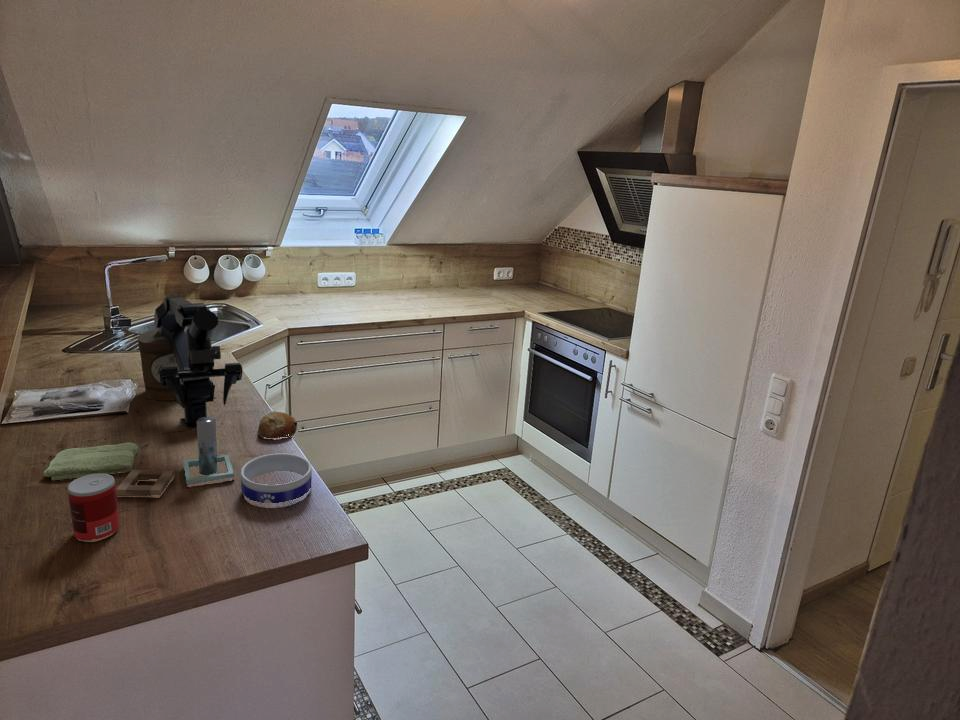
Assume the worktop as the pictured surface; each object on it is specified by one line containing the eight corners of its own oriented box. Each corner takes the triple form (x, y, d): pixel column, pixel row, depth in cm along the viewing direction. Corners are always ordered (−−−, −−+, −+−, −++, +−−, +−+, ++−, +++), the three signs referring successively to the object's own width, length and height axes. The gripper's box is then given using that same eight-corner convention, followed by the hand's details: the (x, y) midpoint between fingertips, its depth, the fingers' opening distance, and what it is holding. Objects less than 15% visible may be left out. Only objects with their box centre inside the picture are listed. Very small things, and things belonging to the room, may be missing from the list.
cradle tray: (183, 468, 153) (183, 460, 152) (228, 461, 157) (228, 454, 157) (186, 488, 144) (186, 480, 144) (234, 481, 149) (233, 473, 148)
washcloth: (56, 457, 154) (55, 445, 153) (139, 451, 160) (138, 439, 159) (42, 484, 142) (40, 471, 141) (132, 476, 148) (131, 464, 147)
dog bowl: (239, 512, 137) (238, 487, 135) (243, 477, 151) (242, 454, 149) (313, 506, 142) (313, 482, 140) (310, 473, 155) (310, 451, 154)
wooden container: (162, 405, 186) (151, 333, 178) (136, 392, 194) (125, 322, 186) (209, 390, 197) (201, 321, 189) (183, 378, 205) (173, 312, 197)
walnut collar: (133, 477, 147) (132, 469, 146) (174, 478, 148) (174, 470, 147) (116, 497, 138) (115, 489, 138) (160, 498, 140) (159, 490, 139)
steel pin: (195, 472, 150) (192, 421, 146) (208, 465, 153) (206, 415, 149) (208, 477, 148) (205, 425, 144) (221, 470, 152) (219, 419, 148)
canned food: (127, 522, 130) (122, 473, 127) (106, 545, 123) (100, 494, 119) (88, 520, 130) (82, 471, 127) (65, 543, 122) (58, 492, 119)
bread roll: (264, 438, 179) (250, 415, 176) (298, 421, 181) (285, 398, 178) (266, 454, 170) (251, 430, 167) (302, 436, 172) (288, 412, 169)
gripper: (156, 336, 151) (160, 397, 146) (240, 332, 159) (247, 391, 154) (158, 355, 160) (162, 414, 155) (238, 351, 169) (244, 407, 163)
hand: (204, 406), depth 157 cm, fingers open, 9 cm apart
